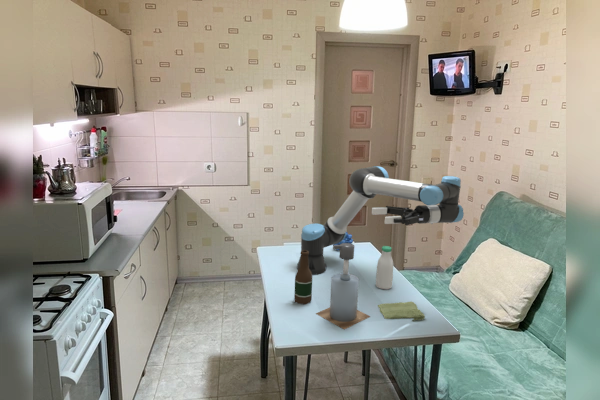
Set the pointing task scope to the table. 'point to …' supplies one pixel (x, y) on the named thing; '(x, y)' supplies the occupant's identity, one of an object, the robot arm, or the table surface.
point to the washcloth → (401, 311)
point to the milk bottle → (385, 269)
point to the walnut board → (343, 325)
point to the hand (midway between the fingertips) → (378, 215)
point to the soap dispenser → (344, 297)
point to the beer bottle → (303, 281)
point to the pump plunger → (345, 254)
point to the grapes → (346, 240)
